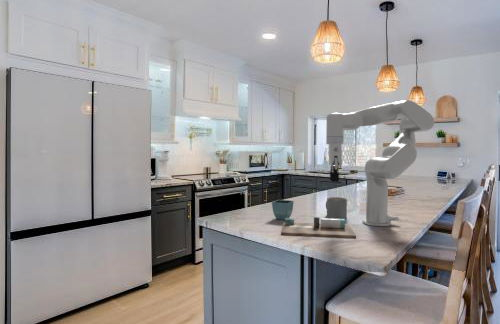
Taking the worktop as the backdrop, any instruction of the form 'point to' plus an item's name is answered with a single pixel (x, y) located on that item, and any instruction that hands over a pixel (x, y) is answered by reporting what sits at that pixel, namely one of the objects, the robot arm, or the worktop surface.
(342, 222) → the swing bar
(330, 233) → the walnut board
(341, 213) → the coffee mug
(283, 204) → the flower pot
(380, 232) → the worktop surface
